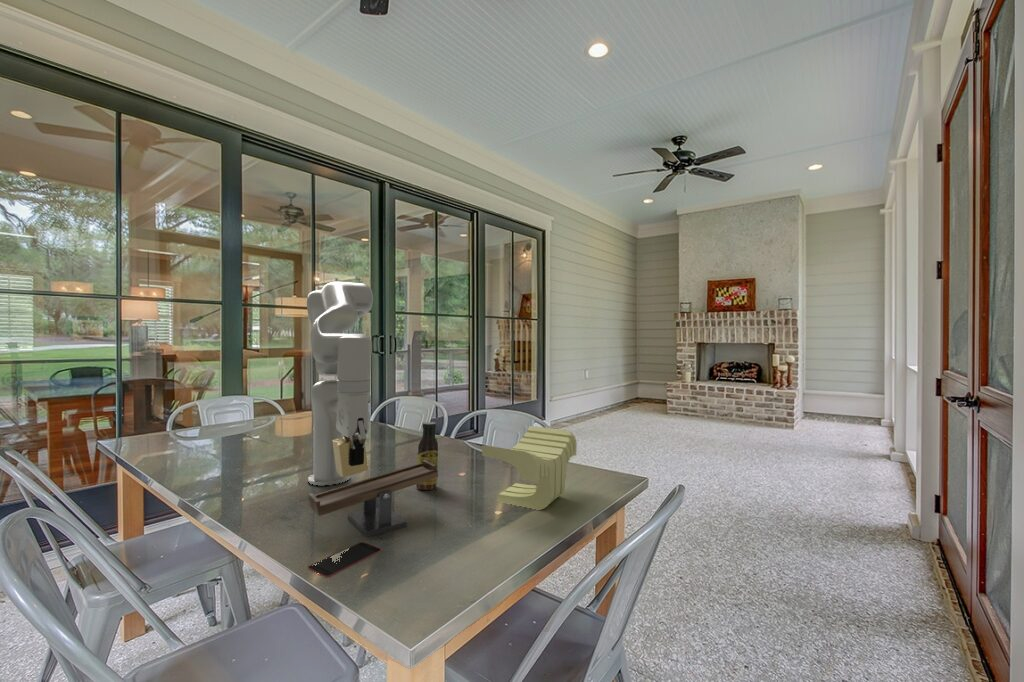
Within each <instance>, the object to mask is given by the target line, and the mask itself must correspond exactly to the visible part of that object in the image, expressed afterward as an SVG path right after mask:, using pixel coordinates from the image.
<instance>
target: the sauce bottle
mask: <svg viewBox="0 0 1024 682" xmlns="http://www.w3.org/2000/svg"><path fill="white" fill-rule="evenodd" d="M421 427H422V435H421V436H422V437H421V440H420V442H419V443H418V447H417V449H418V450H417V457H416V458H417V459H416V461H417V463H416V464H419V463H422V460H426V461H428V462H430V463H432V464H434V465H436V469H438V465H439V463H438V460H439V443H438V441H437V439H436V428H437V423H436V422H433V421H424V422H422V426H421ZM437 483H438V477H437V478H434V479H431V480H428V481H425V482H422V483H419V484H416V489H418V490H420V491H421V490H422V491H430V490H434V489H435V488H436V486H437Z"/></svg>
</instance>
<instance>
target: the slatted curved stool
mask: <svg viewBox="0 0 1024 682" xmlns="http://www.w3.org/2000/svg"><path fill="white" fill-rule="evenodd" d="M577 446H578V445H577V439H576V436H575V435H574V433H573V432H571V431H570V430H566V429H560V428H552V427H542V426H534V425H529V426H528V428H527V431H526V432H525V433H524V435H523V437H521V439H520V440H519V441H518V442H517V443H516V444H515V445H514V446H513V447H512V448H504V447H497V446H492V445H491V446H489V445H483V444H482V446H481V456H482V457H486V458H492V459H494V460H495V459H496V460H499V461H502V462H505V463H508V464H510V465H511V466H513V467H514V468H515V469H516V470H517V472H518V475H519V477H520V480H521V482H522V481H523V482H527V483H534V484H535V485H531V484H524V483H523V484H522V483H518V482H515V483H514V484H512V485H511V486H509V487H507V488H506V489H504V490H502V491H501V492H500V493H498V494H497V497H496V498H497V499H496V502H497V501H498V502H497V503H500V502H502V503H501V504H505V503H506V504H505V505H510V504H512V505H511V506H514V505H516V506H515V507H519V506H522V507H521V508H524V507H527V508H526V509H529V508H532V509H531V510H534V509H536V510H535V511H542V510H544V509H546V508H547V507H548V506H549V505H550V504H551V503H553V502H554V501H555V500H556V499H557V498H559V497H560V496H561V495H562V494H563V493H564V491H565V488H566V477H567V476H566V475H567V465H568V464H569V462H570V460H571V458H572V457H574V456H575V457H576V456H577Z"/></svg>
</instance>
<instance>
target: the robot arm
mask: <svg viewBox="0 0 1024 682" xmlns="http://www.w3.org/2000/svg"><path fill="white" fill-rule="evenodd" d="M373 305H374V293H373V291H372V288H371V287H370V286H369V284H366V283H362V282H348V281H331V282H329V283H326V284H325V285H324V286H322V289H319V290H313V291H311V292H310V293H308V295H307V297H306V310H307V314H308V317H309V320H310V323H311V329H310V334H309V335H310V336H309V338H310V346H311V353H312V357H313V359H314V360H315V361H314V362H315V369H316V372H317V374H319V375H321V376H323V377H337V378H336V379H331V380H327V379H326V380H321V381H318V382H316V383H315V384H313V385H312V387H311V389H310V401H311V405H312V407H311V408H312V416H313V420H312V421H313V438H312V439H313V444H312V445H313V447H312V449H313V450H312V451H313V453H312V454H313V455H312V456H313V457H312V458H313V459H312V474H311V475H309V476H308V477H307V483H308V482H309V483H310V485H312V484H313V485H312V486H316V485H318V486H319V487H320V486H321V487H323V486H324V487H325V485H329V486H334V485H333V484H336V485H340V484H343V483H345V481H346V482H348V481H349V480H350V479H351V476H348V477H345V478H343V477H342V476H341V475H339V474H338V473H337V471H336V464H335V457H334V449H333V442H332V440H335V439H339V438H343V437H351V448H352V449H350V466H356V465H362V464H364V447H365V448H366V444H364V443H366V440H367V434H368V433H369V425H370V424H369V421H370V420H369V401H370V394H371V370H372V369H371V365H372V364H371V363H372V362H371V361H372V360H371V359H372V357H371V356H372V353H373V342H372V340H371V339H370V338H369V336H368V335H366V334H364V333H346V332H345V331H347V330H349V329H352V328H353V327H354V326H355V324H356V323H357V322H358V319H359V318H364V317H365V315H367V314H368V313H369V312H370V311H371V310H372V308H373ZM344 332H345V333H344ZM354 434H358V435H354ZM355 438H358V439H357V440H356V442H355ZM347 480H348V481H347ZM342 482H343V483H342ZM309 483H308V484H309ZM339 483H340V484H339ZM318 486H317V487H318Z"/></svg>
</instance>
